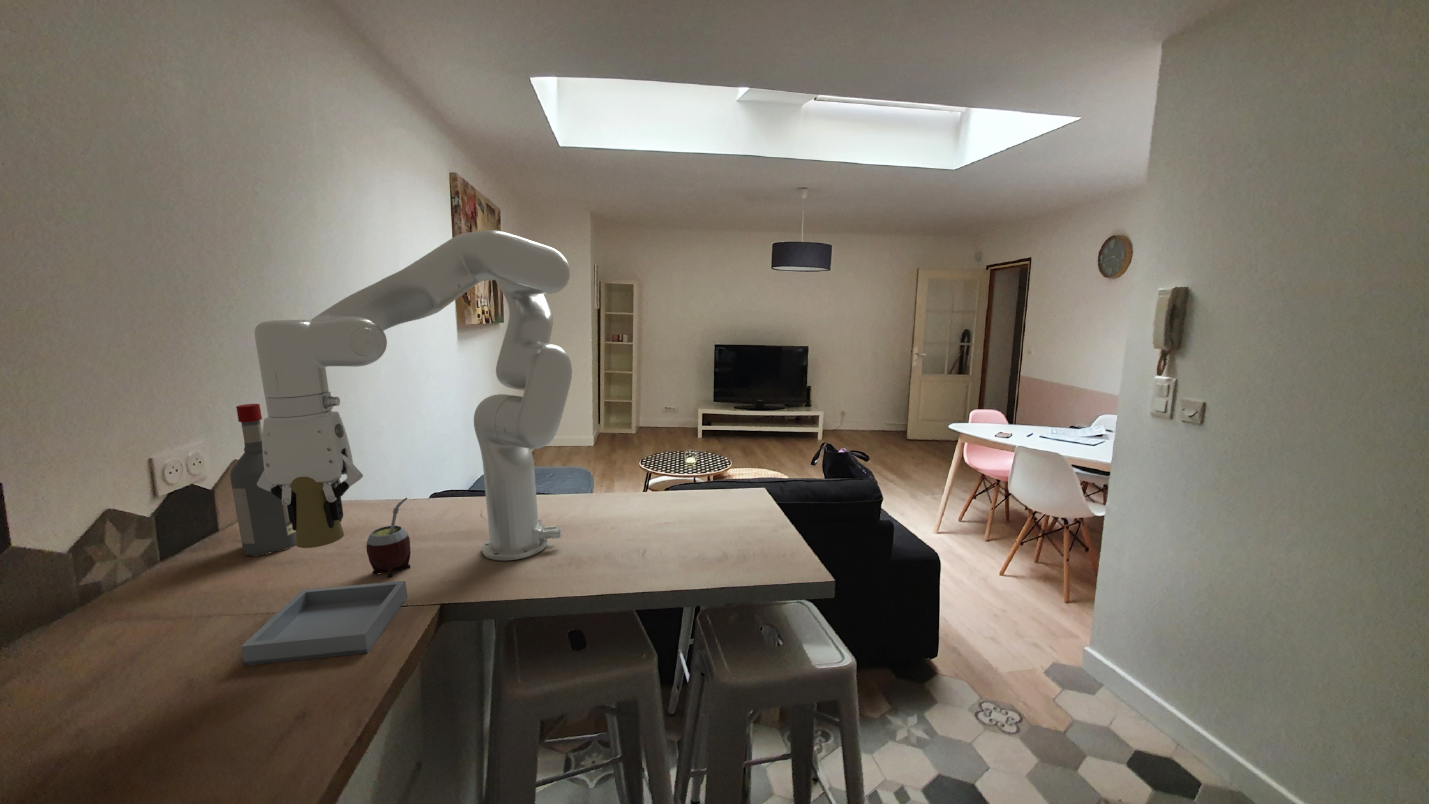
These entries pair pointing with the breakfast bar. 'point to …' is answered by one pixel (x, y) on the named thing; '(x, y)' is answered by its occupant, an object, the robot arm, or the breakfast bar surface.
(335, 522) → the cork
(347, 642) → the tray
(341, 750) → the breakfast bar surface
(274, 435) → the robot arm
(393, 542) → the mate gourd
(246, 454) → the liquor
